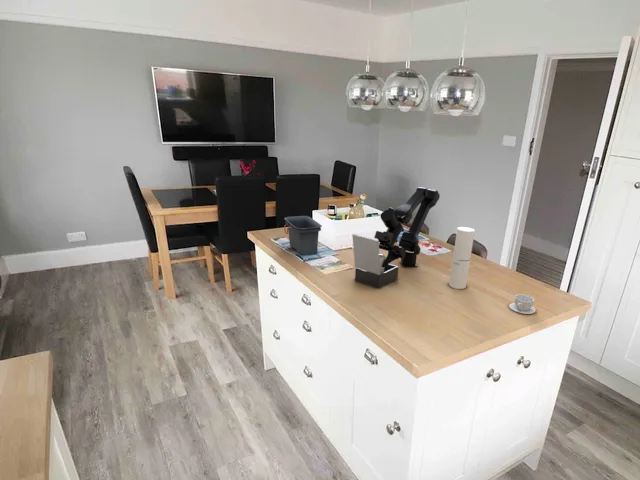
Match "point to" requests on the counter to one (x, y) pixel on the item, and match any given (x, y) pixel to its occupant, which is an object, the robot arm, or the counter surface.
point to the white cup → (381, 263)
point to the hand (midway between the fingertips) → (375, 264)
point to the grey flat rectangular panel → (366, 254)
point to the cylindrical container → (461, 257)
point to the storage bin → (303, 234)
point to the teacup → (523, 304)
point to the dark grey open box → (377, 276)
